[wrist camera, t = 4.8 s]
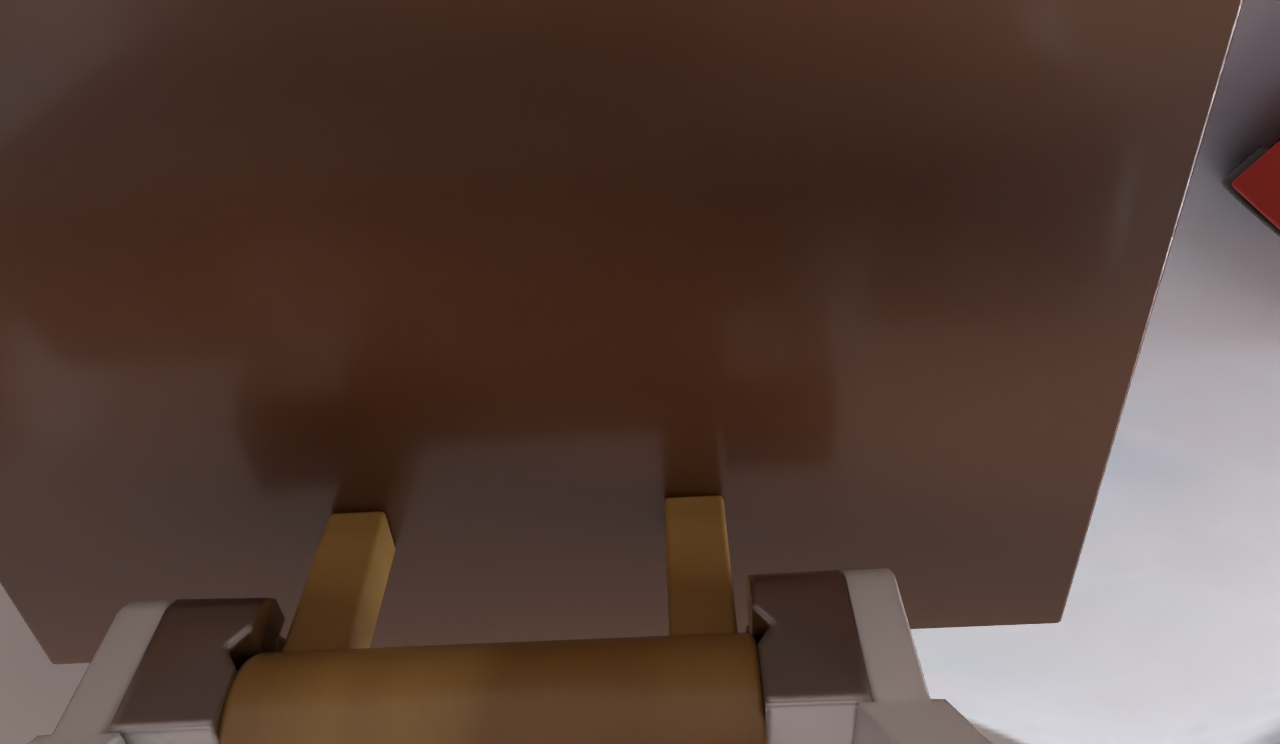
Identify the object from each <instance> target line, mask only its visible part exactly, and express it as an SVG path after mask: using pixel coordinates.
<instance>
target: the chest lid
mask: <svg viewBox="0 0 1280 744" xmlns="http://www.w3.org/2000/svg"><path fill="white" fill-rule="evenodd" d="M1242 4H1243V0H0V583H1V585H2V586H3V588H4V589H5V591H6V592H7V594H8V596H9V597H10V599H11V600H12V602H13V603H14V605H15V606H16V608H17V610H18V611H19V613H20V614H21V616H22V617H23V619H24V621H25V622H26V624H27V625H28V627H29V628H30V630H31V631H32V633H33V635H34V636H35V638H36V639H37V641H38V642H39V644H40V645H41V647H42V649H43V650H44V652H45V653H46V655H47V656H48V658H49V659H50V661H51V662H52V663H53V664H72V663H91V661H92V659H93V657H94V655H95V653H96V652H97V650H98V648H99V646H100V644H101V642H102V640H103V639H104V637H105V635H106V633H107V631H108V629H109V627H110V625H111V624H112V622H113V620H114V618H115V616H116V614H117V613H118V612H119V611H120V610H121V609H122V608H123V607H125V606H126V605H127V604H128V603H129V602H130V601H149V600H177V599H221V598H273V599H276V600H277V602H278V604H279V606H280V609H281V611H282V613H283V615H284V617H285V622H284V625H283V628H282V630H281V633H280V636H282V637H283V638H285V639H286V641H285V644H284V647H283V650H282V652H264V653H259V654H257V655H255V656H253V657H251V658H249V659H248V660H247V661H246V662H245V663H244V664H243V665H242V666H241V668H240V669H239V671H238V673H237V675H236V676H235V678H234V680H233V683H232V685H231V687H230V690H229V693H228V695H227V698H226V702H225V705H224V709H223V714H222V718H221V724H220V731H219V740H218V744H768V743H767V726H766V721H765V714H764V702H763V691H762V682H761V673H760V666H759V659H758V652H757V650H758V647H757V643H756V641H755V639H754V636H753V635H752V634H749V633H746V626H747V625H748V624H749V621H748V612H747V603H746V583H747V575H758V574H776V573H794V572H812V571H830V570H839V571H840V572H841V571H842V570H861V569H882V568H889V569H890V570H891V572H892V573H893V574H894V575H895V578H896V582H897V585H898V589H899V592H900V595H901V599H902V602H903V606H904V609H905V613H906V616H907V620H908V623H909V627H910V629H919V628H944V627H968V626H992V625H1016V624H1040V623H1058V622H1060V621H1061V618H1062V615H1063V611H1064V608H1065V605H1066V601H1067V598H1068V594H1069V591H1070V588H1071V584H1072V581H1073V578H1074V574H1075V571H1076V567H1077V564H1078V561H1079V557H1080V554H1081V550H1082V547H1083V544H1084V540H1085V537H1086V533H1087V530H1088V527H1089V523H1090V520H1091V516H1092V513H1093V510H1094V506H1095V503H1096V499H1097V496H1098V493H1099V489H1100V486H1101V482H1102V479H1103V476H1104V472H1105V469H1106V465H1107V462H1108V459H1109V455H1110V452H1111V448H1112V445H1113V442H1114V438H1115V435H1116V431H1117V428H1118V425H1119V421H1120V418H1121V414H1122V411H1123V408H1124V404H1125V401H1126V398H1127V394H1128V391H1129V387H1130V384H1131V381H1132V377H1133V374H1134V370H1135V367H1136V364H1137V360H1138V357H1139V353H1140V350H1141V347H1142V343H1143V340H1144V336H1145V333H1146V330H1147V326H1148V323H1149V319H1150V316H1151V313H1152V309H1153V306H1154V302H1155V299H1156V296H1157V292H1158V289H1159V285H1160V282H1161V279H1162V275H1163V272H1164V268H1165V265H1166V262H1167V258H1168V255H1169V251H1170V248H1171V245H1172V241H1173V238H1174V234H1175V231H1176V228H1177V224H1178V221H1179V218H1180V214H1181V211H1182V207H1183V204H1184V201H1185V197H1186V194H1187V190H1188V187H1189V184H1190V180H1191V177H1192V173H1193V170H1194V167H1195V163H1196V160H1197V156H1198V153H1199V150H1200V146H1201V143H1202V139H1203V136H1204V133H1205V129H1206V126H1207V122H1208V119H1209V116H1210V112H1211V109H1212V105H1213V102H1214V99H1215V95H1216V92H1217V88H1218V85H1219V82H1220V78H1221V75H1222V71H1223V68H1224V65H1225V61H1226V58H1227V54H1228V51H1229V48H1230V44H1231V41H1232V38H1233V34H1234V31H1235V27H1236V24H1237V21H1238V17H1239V14H1240V10H1241V7H1242Z"/></svg>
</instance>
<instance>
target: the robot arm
mask: <svg viewBox="0 0 1280 744" xmlns="http://www.w3.org/2000/svg"><path fill="white" fill-rule="evenodd" d="M746 603H747V612H748V621H749V624H748V625H747V626H746V633H749V634H752V635H753V636H754V639H755V641H756V643H757V647H758V650H757V652H758V659H759V666H760V673H761V682H762V691H763V702H764V714H765V721H766V726H767V743H768V744H993V743H992V742H991V741H990V740H989V739H988V738H986V737H985V736H984V735H983V734H982V733H981V732H980V731H979V730H978V729H977V728H976V727H975V726H974V725H972V724H971V723H970V722H969V721H968V720H967V719H966V718H965V717H964V716H963V715H962V714H961V713H959V712H958V711H957V710H956V709H955V708H954V707H953V706H952V705H951V704H950V703H949V702H948V701H947V700H945V699H930V696H929V693H928V689H927V686H926V682H925V679H924V675H923V672H922V668H921V665H920V661H919V658H918V654H917V651H916V647H915V644H914V641H913V637H912V634H911V630H910V627H909V623H908V620H907V616H906V613H905V609H904V606H903V602H902V599H901V595H900V592H899V589H898V585H897V582H896V578H895V575H894V574H893V573H892V572H891V570H890V569H889V568H882V569H861V570H842V571H841V572H840V571H839V570H830V571H812V572H794V573H776V574H758V575H747V583H746ZM284 622H285V617H284V615H283V613H282V611H281V609H280V606H279V604H278V602H277V600H276V599H273V598H221V599H177V600H149V601H130V602H129V603H128V604H127V605H126V606H125V607H123V608H122V609H121V610H120V611H119V612H118V613H117V614H116V616H115V618H114V620H113V622H112V624H111V625H110V627H109V629H108V631H107V633H106V635H105V637H104V639H103V640H102V642H101V644H100V646H99V648H98V650H97V652H96V653H95V655H94V657H93V659H92V661H91V663H90V665H89V667H88V668H87V671H86V672H85V674H84V676H83V678H82V680H81V681H80V683H79V685H78V687H77V689H76V691H75V693H74V695H73V696H72V698H71V700H70V702H69V704H68V706H67V708H66V710H65V711H64V713H63V715H62V717H61V719H60V721H59V723H58V724H57V726H56V728H55V730H54V732H53V734H52V735H43V736H37V737H36V738H34V739H33V740H32V741H31V742H29V743H28V744H218V740H219V731H220V724H221V718H222V714H223V709H224V705H225V702H226V698H227V695H228V693H229V690H230V687H231V685H232V683H233V680H234V678H235V676H236V675H237V673H238V671H239V669H240V668H241V666H242V665H243V664H244V663H245V662H246V661H247V660H248V659H249V658H251V657H253V656H255V655H257V654H259V653H264V652H282V650H283V647H284V644H285V641H286V639H285V638H283V637H282V636H280V633H281V630H282V628H283V625H284Z"/></svg>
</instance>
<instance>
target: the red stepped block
mask: <svg viewBox="0 0 1280 744" xmlns="http://www.w3.org/2000/svg"><path fill="white" fill-rule="evenodd" d="M1222 184H1223V186H1224V187H1225V188H1226V189H1227V190H1228V191H1229V192H1230V193H1231V194H1232V195H1233V196H1234V197H1235V198H1236V199H1237V200H1239V201H1240V202H1241V203H1242V204H1243V205H1244V206H1245V207H1246V208H1247V209H1249V210H1250V211H1251V212H1252V213H1253V214H1254V215H1255V216H1256V217H1258V218H1259V219H1260V220H1261V221H1262V222H1263V223H1264V224H1266V225H1267V226H1268V227H1269V228H1270V229H1271V230H1272V231H1274V232H1275V233H1276V234H1277V235H1278V236H1279V237H1280V141H1279V142H1277V143H1276V144H1275V145H1274V146H1273V147H1272V148H1271V149H1270V150H1268V149H1267V148H1265V147H1260V148H1258V149H1257V150H1256V151H1255V152H1254V153H1252V154H1251V155H1250V156H1249V157H1248V158H1247V159H1246V160H1245V161H1243V162H1242V163H1241V164H1240V165H1239V166H1238V167H1237V168H1236V169H1234V170H1233V171H1232V172H1231V173H1230V174H1229V175H1228V176H1227V177H1225V178H1224V179H1223V181H1222Z"/></svg>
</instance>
